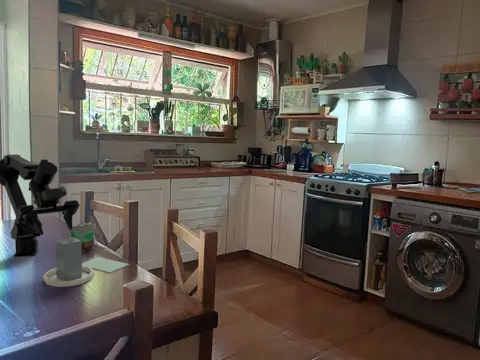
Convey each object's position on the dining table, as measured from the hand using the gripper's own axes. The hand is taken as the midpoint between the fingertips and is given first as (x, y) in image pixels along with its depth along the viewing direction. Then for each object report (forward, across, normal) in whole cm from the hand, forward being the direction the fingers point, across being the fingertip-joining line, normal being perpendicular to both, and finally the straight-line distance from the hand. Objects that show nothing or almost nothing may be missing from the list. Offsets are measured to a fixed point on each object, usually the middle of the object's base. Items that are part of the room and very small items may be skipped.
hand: (57, 231), depth 126 cm
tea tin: (+15, 0, +4) cm, 15 cm away
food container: (-3, +19, +22) cm, 29 cm away
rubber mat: (+13, +14, +6) cm, 20 cm away
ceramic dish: (+15, 0, +4) cm, 16 cm away
